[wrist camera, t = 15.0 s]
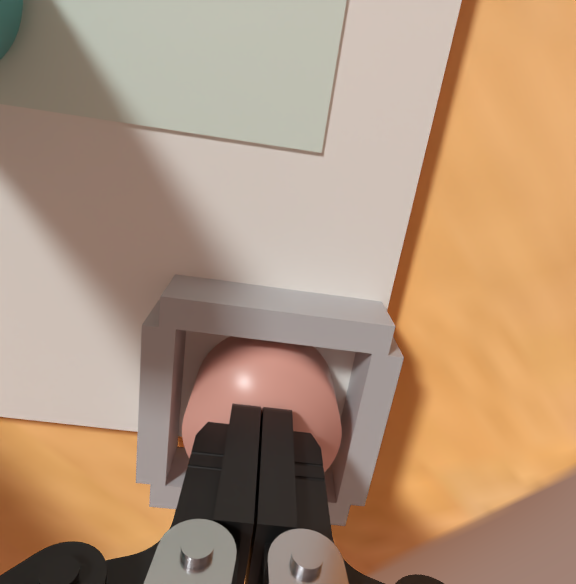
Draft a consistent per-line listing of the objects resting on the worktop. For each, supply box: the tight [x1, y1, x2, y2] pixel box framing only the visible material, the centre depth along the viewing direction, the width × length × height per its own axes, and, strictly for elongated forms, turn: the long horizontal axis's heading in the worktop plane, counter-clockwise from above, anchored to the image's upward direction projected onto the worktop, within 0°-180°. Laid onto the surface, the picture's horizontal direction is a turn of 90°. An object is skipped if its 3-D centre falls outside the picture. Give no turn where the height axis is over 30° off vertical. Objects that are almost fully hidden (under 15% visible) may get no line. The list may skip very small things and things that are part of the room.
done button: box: [182, 336, 342, 472], centre depth 12 cm, size 4×4×2 cm
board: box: [0, 0, 462, 526], centre depth 11 cm, size 14×19×2 cm
